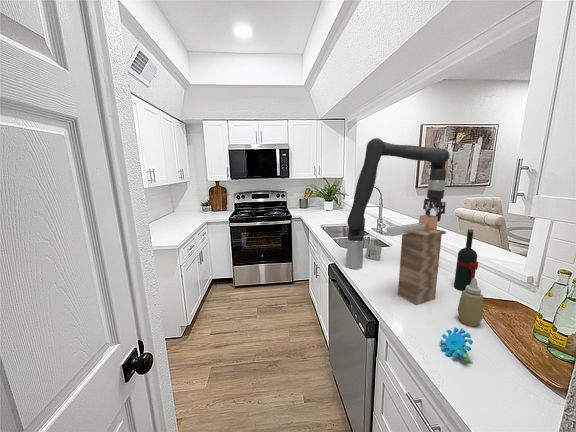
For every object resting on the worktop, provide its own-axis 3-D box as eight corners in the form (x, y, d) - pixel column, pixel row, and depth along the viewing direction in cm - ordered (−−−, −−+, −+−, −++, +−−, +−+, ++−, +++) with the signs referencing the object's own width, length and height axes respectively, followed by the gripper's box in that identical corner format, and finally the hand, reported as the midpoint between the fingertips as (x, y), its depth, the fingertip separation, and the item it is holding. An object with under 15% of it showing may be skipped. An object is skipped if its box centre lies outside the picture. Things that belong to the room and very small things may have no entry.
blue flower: (433, 335, 87) (459, 321, 84) (444, 346, 88) (471, 332, 84) (448, 363, 77) (478, 348, 73) (460, 375, 77) (491, 360, 74)
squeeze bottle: (474, 331, 92) (481, 285, 88) (451, 319, 99) (456, 276, 95) (486, 324, 95) (492, 280, 92) (463, 313, 102) (468, 272, 99)
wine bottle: (464, 294, 117) (472, 232, 111) (450, 284, 127) (456, 227, 121) (480, 294, 117) (489, 232, 111) (465, 284, 127) (472, 227, 121)
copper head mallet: (393, 236, 100) (394, 222, 99) (384, 234, 104) (385, 220, 103) (438, 229, 110) (439, 216, 109) (427, 227, 115) (428, 214, 113)
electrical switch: (365, 258, 166) (366, 244, 165) (368, 256, 170) (369, 243, 169) (379, 261, 160) (380, 247, 159) (381, 259, 164) (383, 246, 163)
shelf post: (416, 307, 108) (422, 235, 101) (394, 294, 118) (399, 229, 112) (438, 299, 113) (445, 231, 107) (415, 288, 124) (421, 225, 118)
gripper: (421, 187, 136) (417, 216, 139) (438, 190, 122) (434, 222, 125) (434, 187, 136) (430, 216, 140) (452, 190, 122) (448, 222, 126)
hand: (432, 219), depth 132 cm, fingers open, 8 cm apart
